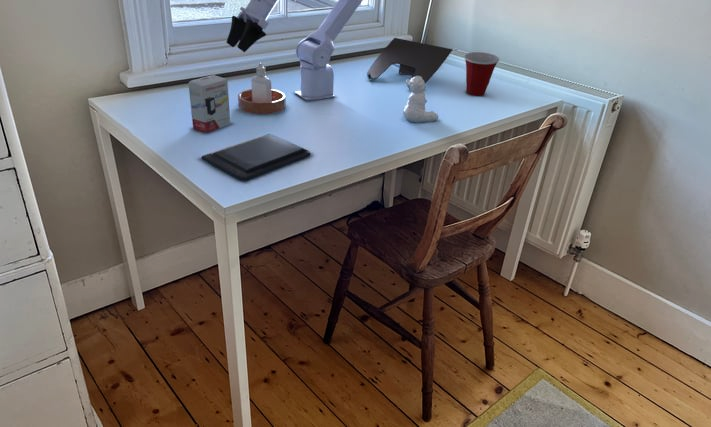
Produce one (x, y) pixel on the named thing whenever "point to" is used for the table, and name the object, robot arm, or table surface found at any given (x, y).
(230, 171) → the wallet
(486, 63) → the plastic cup
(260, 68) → the eye dropper bottle
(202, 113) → the ink box
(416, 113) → the white creature statuette
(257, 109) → the bowl
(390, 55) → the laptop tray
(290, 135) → the table surface
